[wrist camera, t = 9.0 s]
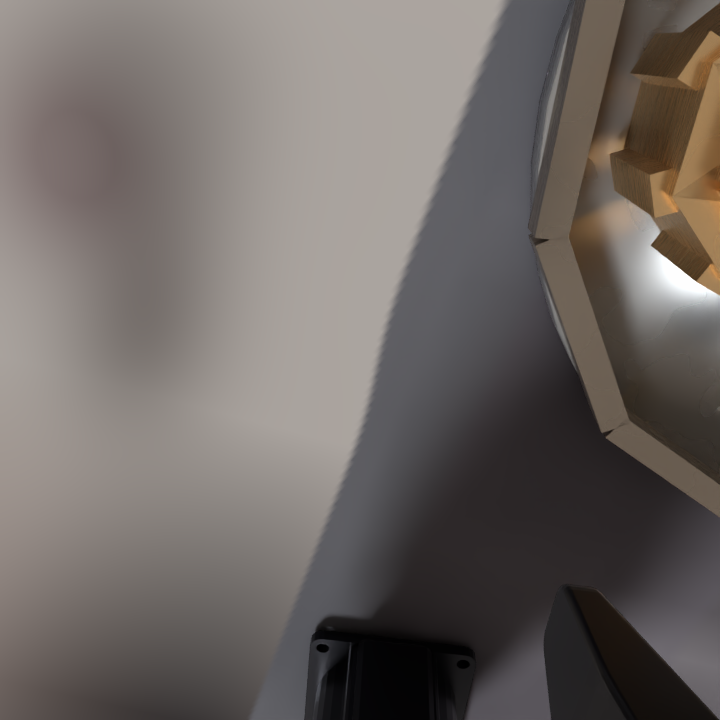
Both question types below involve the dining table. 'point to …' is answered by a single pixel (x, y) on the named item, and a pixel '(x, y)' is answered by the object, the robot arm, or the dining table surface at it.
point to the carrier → (622, 254)
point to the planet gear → (678, 147)
